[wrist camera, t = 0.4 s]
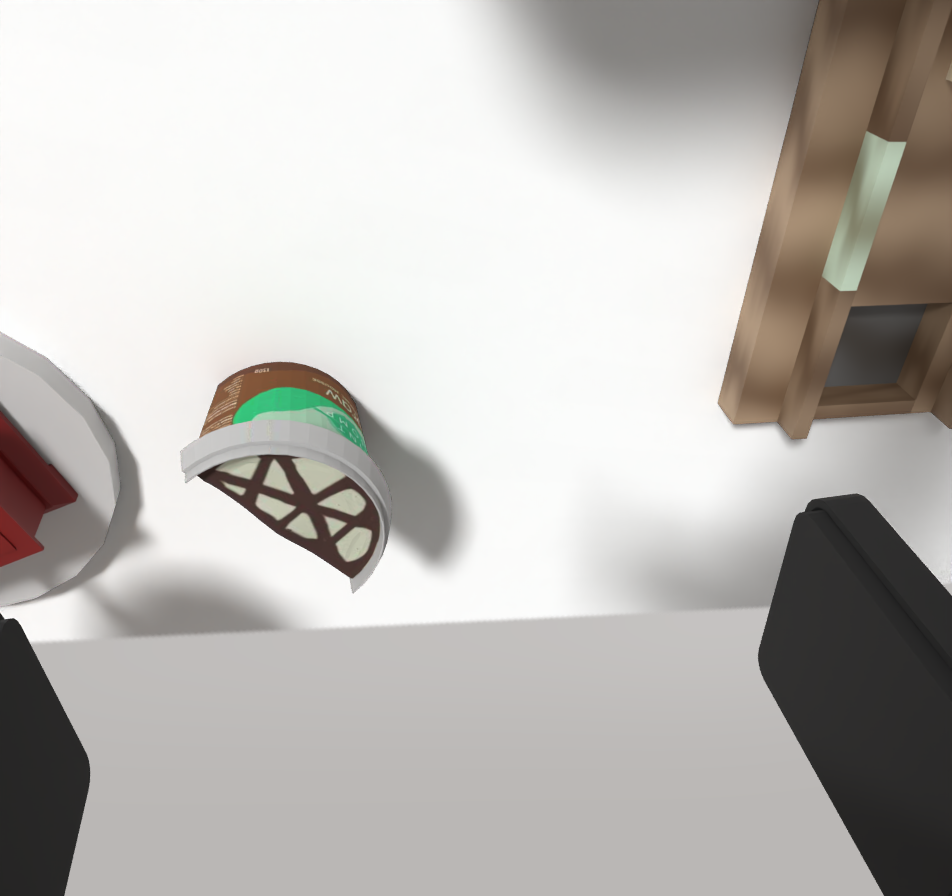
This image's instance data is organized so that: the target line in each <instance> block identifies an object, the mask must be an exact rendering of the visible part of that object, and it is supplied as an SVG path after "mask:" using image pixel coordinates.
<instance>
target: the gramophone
mask: <svg viewBox="0 0 952 896" xmlns="http://www.w3.org/2000/svg"><path fill="white" fill-rule="evenodd" d="M120 488H121V483H120V475H119V468H118V461H117V453H116V446H115V442H114V441H113V439H112V437H111V435H110V433H109V432H108V430H107V428H106V426H105V424H104V423H103V421H102V419H101V417H100V416H99V414H98V412H97V410H96V408H95V407H94V405H93V403H92V401H91V399H90V398H89V397H88V396H87V395H85V394H84V393H83V392H82V391H81V390H80V389H79V388H78V387H77V386H76V385H75V384H74V383H73V382H72V381H71V380H70V379H69V378H68V377H67V376H65V375H64V374H63V373H62V372H61V371H60V370H59V369H58V368H57V367H56V366H55V365H54V364H53V363H52V362H51V361H50V360H49V359H48V358H46V357H45V356H43V355H41V354H39V353H37V352H36V351H34V350H32V349H30V348H28V347H27V346H25V345H23V344H21V343H20V342H18V341H16V340H14V339H12V338H11V337H9V336H7V335H5V334H3V333H2V332H0V607H3V606H7V605H11V604H15V603H19V602H23V601H27V600H31V599H35V598H37V597H39V596H41V595H43V594H44V593H46V592H48V591H50V590H52V589H53V588H55V587H57V586H59V585H61V584H62V583H64V582H66V581H68V580H70V579H71V578H73V577H75V576H76V575H77V574H78V573H79V572H80V571H81V570H82V569H83V567H84V566H85V565H86V564H87V563H88V562H89V561H90V559H91V558H92V557H93V556H94V555H95V554H96V553H97V551H98V550H99V549H100V548H101V547H102V546H103V545H104V542H105V538H106V535H107V532H108V529H109V525H110V522H111V519H112V515H113V512H114V509H115V506H116V502H117V499H118V495H119V492H120Z"/></svg>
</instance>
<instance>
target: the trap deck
mask: <svg viewBox="0 0 952 896" xmlns="http://www.w3.org/2000/svg"><path fill="white" fill-rule="evenodd" d="M951 62H952V0H819V4H818V8H817V12H816V16H815V20H814V24H813V28H812V32H811V36H810V40H809V44H808V47H807V51H806V55H805V59H804V63H803V67H802V71H801V75H800V79H799V83H798V87H797V91H796V95H795V99H794V103H793V107H792V111H791V115H790V119H789V123H788V127H787V131H786V135H785V139H784V142H783V146H782V150H781V154H780V158H779V162H778V166H777V170H776V174H775V178H774V182H773V186H772V190H771V194H770V198H769V202H768V206H767V210H766V214H765V218H764V222H763V226H762V230H761V234H760V237H759V241H758V245H757V249H756V253H755V257H754V261H753V265H752V269H751V273H750V277H749V281H748V285H747V289H746V293H745V297H744V301H743V305H742V309H741V313H740V317H739V321H738V325H737V329H736V332H735V336H734V340H733V344H732V348H731V352H730V356H729V360H728V364H727V368H726V372H725V376H724V380H723V384H722V388H721V392H720V396H719V400H718V404H719V406H720V407H721V409H722V410H723V411H724V413H725V414H726V415H727V417H728V418H729V419H730V421H731V422H732V423H733V424H748V423H763V422H778V423H779V425H780V426H781V427H782V428H783V429H784V431H785V432H786V433H787V434H788V435H789V437H790V438H791V439H806V438H807V436H808V433H809V430H810V427H811V424H812V421H813V419H826V418H842V417H858V416H874V415H889V414H905V413H921V412H931V413H932V414H934V415H935V416H936V417H937V418H938V419H939V420H940V421H941V422H943V423H944V424H945V425H946V426H947V427H948V428H949V429H952V82H951V81H949V80H946V76H947V73H948V70H949V68H950V65H951Z"/></svg>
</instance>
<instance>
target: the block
mask: <svg viewBox="0 0 952 896" xmlns="http://www.w3.org/2000/svg"><path fill="white" fill-rule="evenodd" d="M946 80H949V81H951V82H952V62H951V65H950V68H949V70H948V73H947V76H946Z"/></svg>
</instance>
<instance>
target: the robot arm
mask: <svg viewBox="0 0 952 896" xmlns="http://www.w3.org/2000/svg"><path fill="white" fill-rule="evenodd" d="M758 661H759V666H760V671H761V674H762V676H763V678H764V680H765V682H766V684H767V686H768V688H769V689H770V691H771V693H772V695H773V697H774V698H775V700H776V702H777V704H778V706H779V708H780V709H781V711H782V713H783V715H784V717H785V718H786V720H787V722H788V724H789V725H790V727H791V729H792V731H793V732H794V735H795V736H796V738H797V740H798V742H799V743H800V745H801V747H802V749H803V751H804V753H805V754H806V756H807V758H808V760H809V761H810V763H811V765H812V767H813V769H814V770H815V772H816V774H817V776H818V777H819V780H820V781H821V783H822V785H823V787H824V789H825V790H826V792H827V794H828V795H829V798H830V799H831V801H832V803H833V805H834V807H835V808H836V810H837V812H838V814H839V816H840V817H841V819H842V821H843V823H844V825H845V826H846V828H847V830H848V832H849V834H850V835H851V837H852V839H853V841H854V843H855V844H856V846H857V848H858V850H859V851H860V853H861V855H862V856H863V859H864V860H865V862H866V864H867V866H868V867H869V869H870V871H871V873H872V875H873V877H874V878H875V880H876V882H877V884H878V886H879V887H880V889H881V891H882V893H883V895H884V896H952V596H951V595H950V593H949V592H948V591H947V590H946V589H945V587H944V586H943V585H942V584H941V583H940V582H939V581H938V579H937V578H936V577H935V576H934V575H933V574H932V573H931V571H930V570H929V569H928V568H927V567H926V566H925V564H924V563H923V562H922V561H921V560H920V559H919V558H918V556H917V555H916V554H915V553H914V552H913V551H912V550H911V548H910V547H909V546H908V545H907V544H906V543H905V542H904V540H903V539H902V538H901V537H900V536H899V535H898V533H897V532H896V531H895V530H894V529H893V528H892V527H891V525H890V524H889V523H888V522H887V521H886V520H885V519H884V517H883V516H882V515H881V514H880V513H879V512H878V511H877V509H876V508H875V507H874V506H873V505H872V504H871V502H870V501H869V500H867V499H866V498H865V497H864V496H862V495H859V494H850V495H842V496H835V497H827V498H820V499H814V500H812V501H810V502H809V503H808V505H807V507H806V509H805V512H802V513H799V514H798V515H797V516H796V518H795V520H794V523H793V527H792V530H791V534H790V538H789V541H788V545H787V549H786V552H785V556H784V560H783V563H782V567H781V571H780V574H779V578H778V581H777V585H776V589H775V592H774V596H773V600H772V603H771V607H770V611H769V614H768V618H767V622H766V625H765V629H764V633H763V636H762V640H761V644H760V647H759V653H758ZM89 783H90V766H89V760H88V757H87V754H86V752H85V750H84V748H83V746H82V744H81V742H80V740H79V738H78V736H77V734H76V732H75V730H74V729H73V726H72V725H71V723H70V721H69V719H68V717H67V715H66V713H65V711H64V709H63V707H62V705H61V703H60V701H59V699H58V697H57V695H56V693H55V691H54V689H53V687H52V686H51V684H50V682H49V680H48V678H47V676H46V674H45V672H44V670H43V668H42V666H41V664H40V662H39V660H38V658H37V656H36V654H35V652H34V651H33V649H32V647H31V645H30V643H29V641H28V639H27V637H26V635H25V633H24V631H23V629H22V627H21V625H20V624H19V622H18V621H17V620H15V619H14V618H12V619H4V618H3V616H2V615H1V614H0V896H64V894H65V889H66V885H67V881H68V877H69V872H70V868H71V863H72V859H73V854H74V850H75V846H76V841H77V837H78V833H79V829H80V824H81V820H82V815H83V811H84V807H85V803H86V798H87V794H88V789H89Z"/></svg>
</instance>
